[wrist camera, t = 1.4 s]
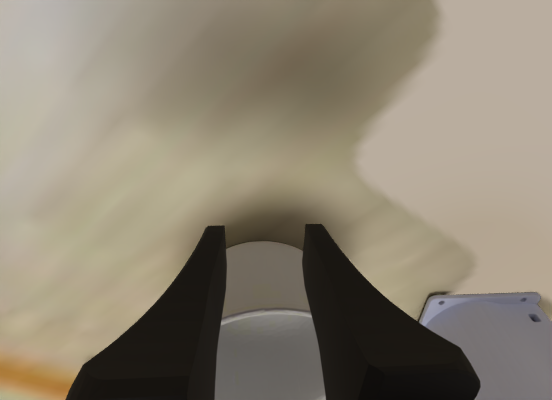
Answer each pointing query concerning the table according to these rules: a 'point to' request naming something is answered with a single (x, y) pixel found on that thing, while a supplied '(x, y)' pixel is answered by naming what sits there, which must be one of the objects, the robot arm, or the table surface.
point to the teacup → (267, 328)
